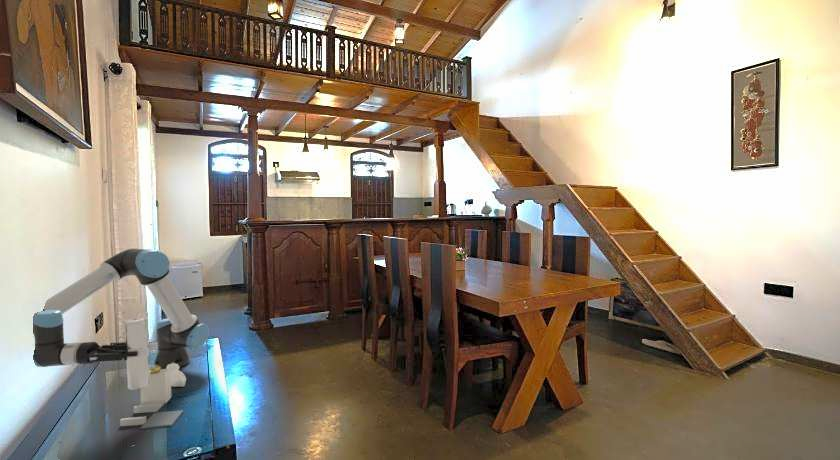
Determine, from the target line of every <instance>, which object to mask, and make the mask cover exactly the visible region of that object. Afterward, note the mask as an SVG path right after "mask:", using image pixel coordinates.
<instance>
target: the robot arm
mask: <svg viewBox="0 0 840 460" xmlns="http://www.w3.org/2000/svg"><path fill="white" fill-rule="evenodd" d="M169 269H170V260H169V258H168V256H167V254H165V253H164V252H162V251H160V250H156V249H152V248H149V249H148V248H147V249H143V248H142V249H141V248H128V249H125V250H123V251H121V252H119V253H116V254H114V255H113V256H111V257H109V258H108V259H106V260H104V261H103V262H101V263H100V265H99V267H98V268H96V269H95V270H93V271H92V272H89V273H88V274H86V275H85V276H82V278H80V279H78V280H77V281H75V282H74V283H72V284H70V285H69V286H67V287H65V288H64V289H62V290H60V291H59V292H57V293H55V294H54V295H53V296H51V297H48V300H47V299H46V300H47V301H46V300H45V301H46V303H45V306H44V309H43V311H41V312H37V313H35V314H34V316H33V334H34V336H33V337H34V345H35V350H34V355H33V360H34V363H35V365H36V366H37V367H38V368H39V367H40V368H41V367H42V368H47V367H58V366H71V367H74V366H75V365H90V364H93V363H97V362H111V361H112V362H114V361H115V362H116V361H122V360H123V361H127V357H144V356H148V357H149V356H150V351H157V353H156V356H155V359H154V362H153V366H157V365H159V366H160V367H161V369H166V367H167V365H169V364H171V363H176V364H178V365H179V367H180V368H181V367H184V366H186V365H188V364H189V363H190V361H191V357H190V353H189V351H188V349H198V348H201V347H202V346H203V345H205V344H206V342H207V340H208V338H209V336H210V329H209V326H208V325H207V324H205V323H201V322H200V320H199V318H198V317H197V315H195V314H192V313H190V311H189V309H188V307H187V306H186V304H185V302H184V300H183V299H182V297H181V295H180V294H179V292H178V290H177V289H176V287H175V286H174V284H173V282H172V281H171V279H170V277H169V275H170V270H169ZM128 276H133V277H134V276H135V277H136V278H137V280H138V282H139V283H140V285H142V286H144V287H145V286H146V287H147V288H148V289H149V291H150V292H151V294H152V296H153V297H154V299H155V300H156V302H157V303H158V305H159V307H160V308H161V310H162V311H163V313H164V314H165V316H166V318H163V319H161V320H158V322H157V323H156V329H155V330H156V339H157V341H152V342H148V348H143V349H133V350H128V352H127V351H126V341H123V342H122V341H121V342H110V344H104V345H103V344H102V345H101V346H100V345H99V344H98V342H96V341H85V342H82V341H81V342H68V343H65V339H64V335H65V334H64V318H63V314H65V313H66V312H68V311H69V310H71V309H73V308H74V307H75V306H76V307H77V305H78V304H81V302H83V301H85V300H86V299H88V298H89V297H90V296H92V295H94V294H95V293H97V292H98V291H100V290H102V289H103V288H104V287H106V286H107V285H109V284H111V283H112V282H118V281H120V280H121V279H123V278H125V277H128Z"/></svg>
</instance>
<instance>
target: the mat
mask: <svg viewBox="0 0 840 460" xmlns="http://www.w3.org/2000/svg"><path fill="white" fill-rule="evenodd" d="M183 413H184V409H182V410H181V409H180V410H171V411H169V410H168V411H161V412H160V411H157V412H153V414H151V416H150V417H149V418H148V419H146V422H145V423H144V424H143V425H142V426H141V427H140V429H141V430H143V429H144V430H145V429H154V428H167V427H173V425H174V424H175V423H176V422H177V421H178V419H179V418H180V416H181V415H182V414H183Z"/></svg>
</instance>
